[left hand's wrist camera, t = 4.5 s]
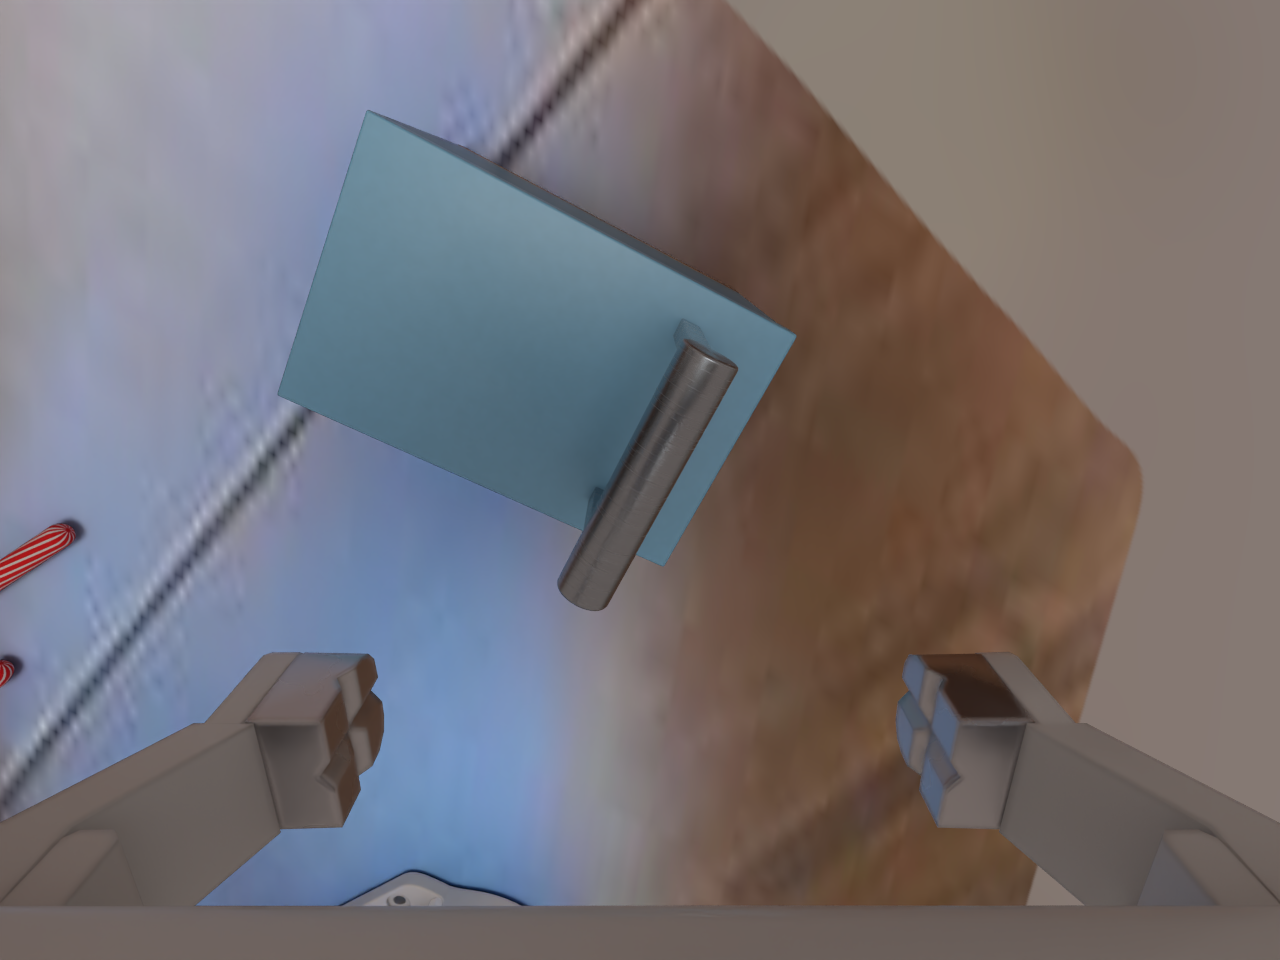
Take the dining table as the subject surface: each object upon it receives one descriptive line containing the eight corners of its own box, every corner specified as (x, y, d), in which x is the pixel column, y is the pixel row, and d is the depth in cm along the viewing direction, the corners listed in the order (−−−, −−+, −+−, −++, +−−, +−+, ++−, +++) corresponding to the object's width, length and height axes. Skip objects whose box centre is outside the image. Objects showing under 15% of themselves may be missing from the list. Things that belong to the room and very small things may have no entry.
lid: (790, 330, 24) (859, 382, 17) (662, 553, 28) (671, 682, 20) (380, 114, 22) (241, 60, 14) (292, 387, 25) (140, 462, 17)
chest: (736, 291, 34) (777, 322, 24) (647, 457, 38) (650, 547, 27) (462, 146, 32) (380, 113, 22) (393, 337, 35) (293, 386, 25)
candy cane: (147, 592, 41) (130, 605, 39) (-23, 700, 43) (-44, 716, 42) (68, 513, 39) (47, 524, 37) (-104, 632, 41) (-130, 646, 40)
